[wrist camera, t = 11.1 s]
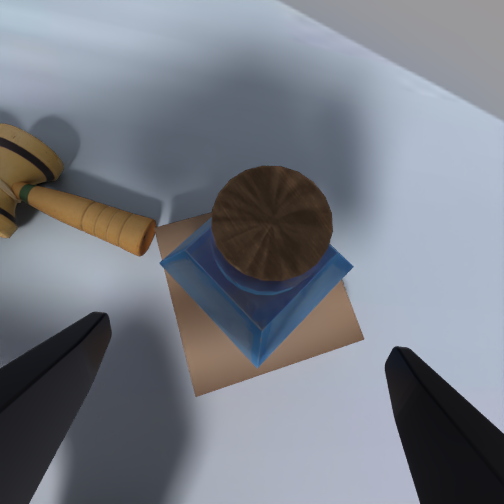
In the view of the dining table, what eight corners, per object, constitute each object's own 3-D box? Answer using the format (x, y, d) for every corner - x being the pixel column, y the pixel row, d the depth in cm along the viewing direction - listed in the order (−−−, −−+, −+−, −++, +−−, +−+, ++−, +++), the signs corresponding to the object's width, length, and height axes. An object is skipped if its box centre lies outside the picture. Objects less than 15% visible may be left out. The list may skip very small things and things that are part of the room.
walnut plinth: (345, 337, 22) (364, 339, 19) (202, 385, 21) (195, 397, 17) (296, 205, 24) (306, 186, 21) (166, 241, 23) (154, 227, 20)
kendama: (175, 197, 26) (-38, 116, 24) (161, 178, 19) (-129, 65, 18) (142, 281, 25) (-77, 204, 23) (117, 288, 19) (-185, 184, 17)
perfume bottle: (317, 284, 19) (437, 224, 8) (250, 354, 18) (274, 406, 7) (252, 220, 20) (271, 79, 9) (184, 282, 19) (99, 216, 7)
